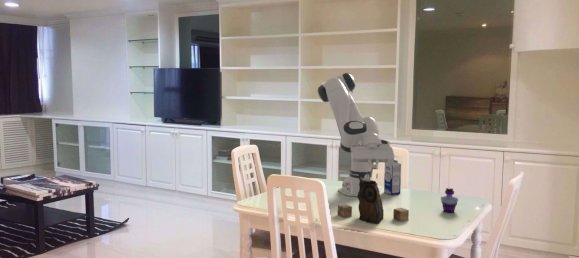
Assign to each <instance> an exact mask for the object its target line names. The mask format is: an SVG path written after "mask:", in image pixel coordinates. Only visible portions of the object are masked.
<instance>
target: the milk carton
mask: <svg viewBox="0 0 579 258" xmlns="http://www.w3.org/2000/svg"><path fill="white" fill-rule="evenodd" d="M383 175H384V178H383V179H384V180H383V181H384V182H383V185H384V186H383V193H385V194H387V195H390V196H395V195H400V194H401V183H402V181H401V176H402V163H399V160H396V159H394V161H393V162H384V173H383Z"/></svg>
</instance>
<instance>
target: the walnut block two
mask: <svg viewBox="0 0 579 258" xmlns="http://www.w3.org/2000/svg"><path fill="white" fill-rule="evenodd" d="M392 214H393V218H392V219H393V220H395V221H398V222H406V221H409V219H410V218H409V217H410V209H406V208H404V207H398V208H393V213H392Z"/></svg>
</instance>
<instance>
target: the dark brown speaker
mask: <svg viewBox="0 0 579 258" xmlns="http://www.w3.org/2000/svg"><path fill="white" fill-rule="evenodd" d="M359 180H360V182H359V187H360V188H359V192H358V196H357V199H358V202H359V203H358V212H359V218H358V220H360V221H362V222H366V223H368V224H376V225H379V224H381V222H382V221H383V220H384V215H385V213H384V208H383V207H384V206H383V201H382V197H381V194H380V188H379V186H378V184H377V181H375V180H373V179H372V180H370V179H364V178H361V177H359Z"/></svg>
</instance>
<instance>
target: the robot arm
mask: <svg viewBox="0 0 579 258" xmlns="http://www.w3.org/2000/svg"><path fill="white" fill-rule="evenodd" d="M355 89H356V80H355V78H354V76H353V75H352V74H351V73H349V72H345V73H342V74H339V75H337V76H336V77H332V78H329V79H328V80H327V81H326V82H324V83H323V84H320V85H319V86H318V88H317V94H318V98H319V99H320V100H321V101H322V102H324V103H329V105H330V107H331V110H332V112H333V113H332V114H333V115H334V119H335V122H336V126H337V128H338V131H339V135H340V143H339V145H340V148H341V150H343V151H344V152H346V153H350V154H351V155H350V156H351V160H350V161H351V169H350V170H348V172H349V175H348V177H346V178H345V179H344V180H343V181H342V183H341V187H340V188H338V189H337V191H338V192H340V193H342V194H343V195H345V196H347V197H358V192H359V188H360V187H359V182H360V180H359V177H361V178H364V179H370V180H373V179H372V178H371V177H372V170H378V165H379V163H385V162H393V161H394V160H395V153H394V149H393V147H392V146H391V142H390V140H389V141H388V140H385V139H382V138H380V136H379V133H380V132H379V127H378V123H377V121H376V120H375V118H373V117H370V116H364V117H363V115H362V114H361V111H360V109H359V108H358V105H357V103H356V102H355V99H354V98H353V96H352V95H351V93H354V92H353V91H354V90H355ZM350 92H351V93H350ZM373 163H375V164H373Z"/></svg>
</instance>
